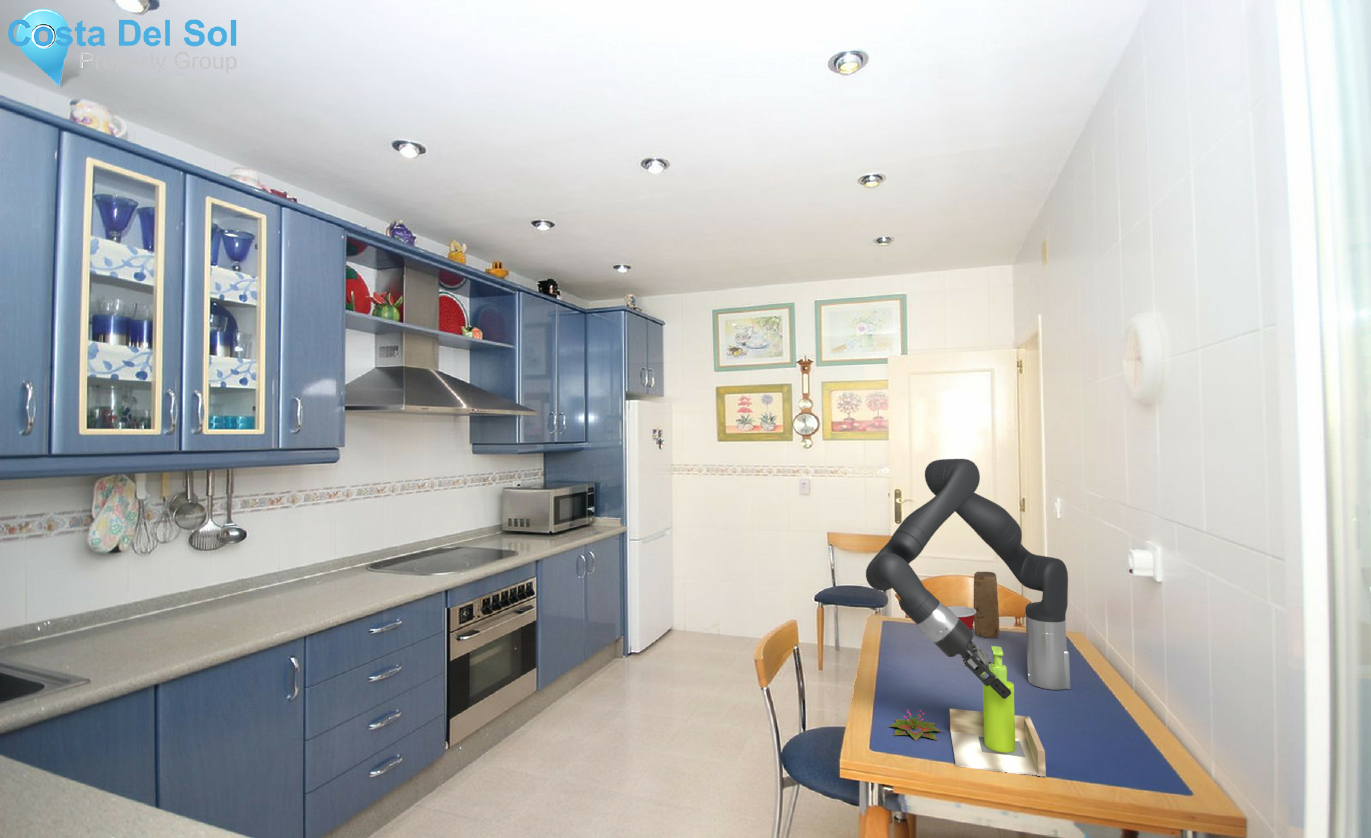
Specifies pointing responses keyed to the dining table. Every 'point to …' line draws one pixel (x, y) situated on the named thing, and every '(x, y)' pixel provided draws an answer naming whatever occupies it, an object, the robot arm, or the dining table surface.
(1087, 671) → the dining table surface
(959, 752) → the corner arena
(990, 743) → the soap dispenser
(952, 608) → the plastic cup
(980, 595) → the block
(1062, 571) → the robot arm
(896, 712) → the dining table surface
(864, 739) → the dining table surface
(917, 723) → the lily flower
